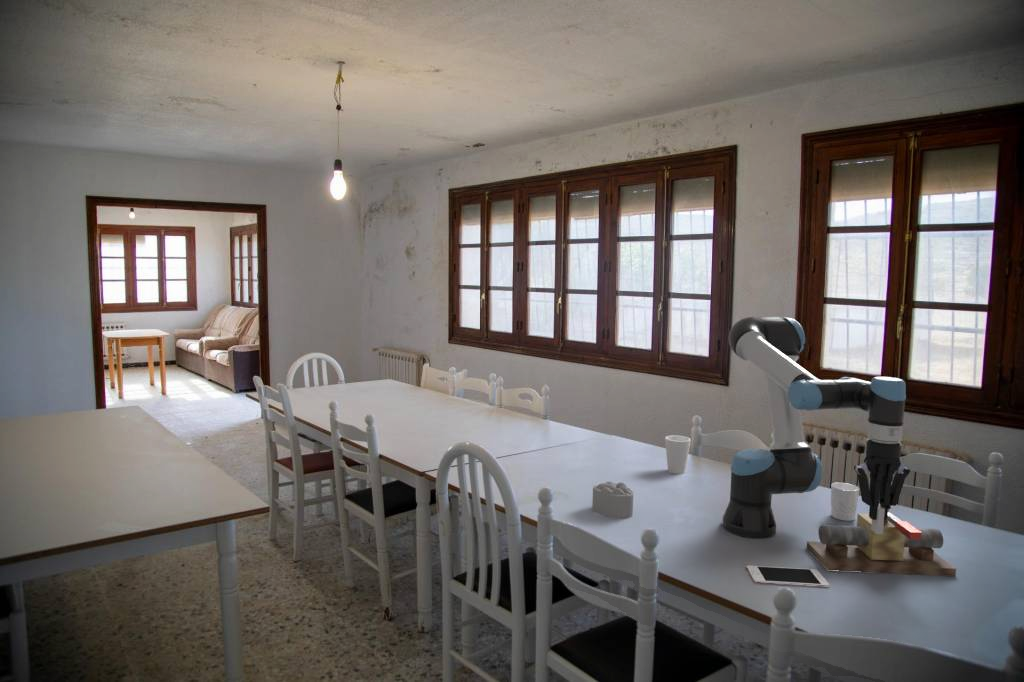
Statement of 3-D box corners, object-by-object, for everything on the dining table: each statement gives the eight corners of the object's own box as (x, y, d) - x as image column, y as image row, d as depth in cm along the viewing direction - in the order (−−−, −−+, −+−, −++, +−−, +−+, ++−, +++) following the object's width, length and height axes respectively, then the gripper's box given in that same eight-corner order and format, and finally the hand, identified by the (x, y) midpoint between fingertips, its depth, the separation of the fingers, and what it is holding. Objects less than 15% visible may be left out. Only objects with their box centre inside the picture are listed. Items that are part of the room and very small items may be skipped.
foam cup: (669, 466, 257) (671, 434, 255) (692, 470, 251) (694, 437, 250) (660, 472, 249) (661, 439, 248) (683, 477, 244) (684, 443, 242)
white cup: (825, 517, 206) (827, 486, 205) (833, 510, 212) (835, 480, 211) (852, 523, 201) (855, 492, 200) (860, 517, 206) (862, 486, 205)
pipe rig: (828, 571, 169) (831, 528, 167) (806, 548, 182) (809, 508, 181) (955, 576, 167) (959, 533, 166) (924, 552, 181) (927, 512, 180)
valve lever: (908, 544, 158) (909, 530, 157) (872, 516, 175) (873, 504, 175) (921, 544, 157) (922, 531, 157) (884, 517, 175) (885, 505, 174)
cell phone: (745, 568, 171) (745, 565, 170) (816, 572, 169) (817, 569, 169) (754, 584, 162) (754, 580, 162) (830, 588, 160) (830, 585, 160)
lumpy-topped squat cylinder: (609, 502, 216) (610, 476, 215) (640, 513, 207) (641, 487, 206) (588, 509, 210) (588, 483, 209) (619, 521, 200) (620, 494, 199)
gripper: (865, 443, 157) (858, 537, 160) (919, 444, 157) (911, 538, 160) (849, 435, 165) (843, 525, 167) (901, 436, 164) (894, 526, 167)
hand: (876, 531), depth 163 cm, fingers closed
